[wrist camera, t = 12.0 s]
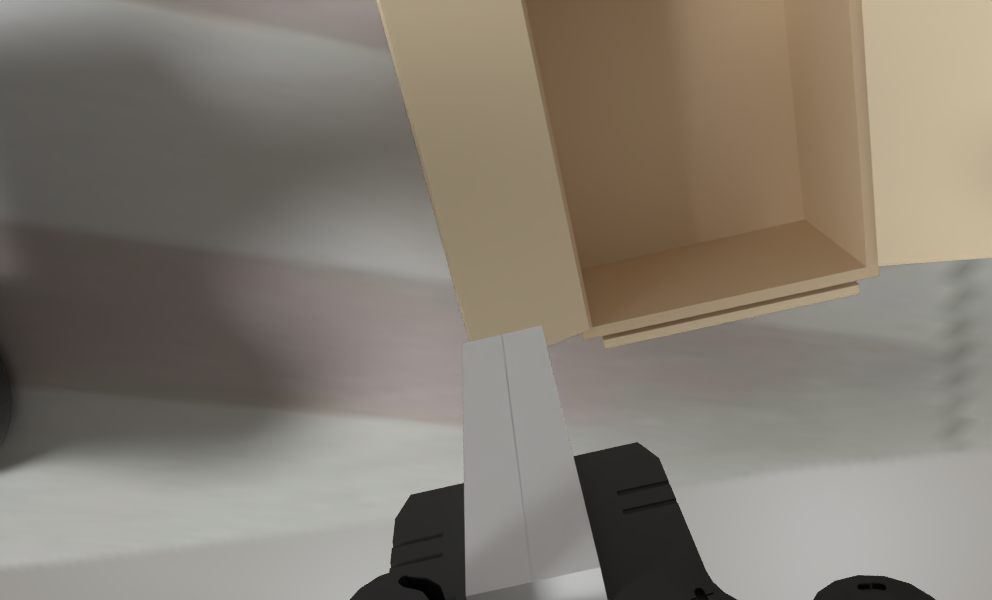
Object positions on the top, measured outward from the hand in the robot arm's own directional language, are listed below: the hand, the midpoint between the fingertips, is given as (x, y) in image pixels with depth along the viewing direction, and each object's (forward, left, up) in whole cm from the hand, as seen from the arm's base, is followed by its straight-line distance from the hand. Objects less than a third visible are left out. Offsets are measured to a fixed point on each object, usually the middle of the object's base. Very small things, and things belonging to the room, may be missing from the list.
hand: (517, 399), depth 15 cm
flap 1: (+2, -1, -24) cm, 24 cm away
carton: (+10, -1, -33) cm, 35 cm away
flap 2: (+17, -1, -24) cm, 29 cm away
